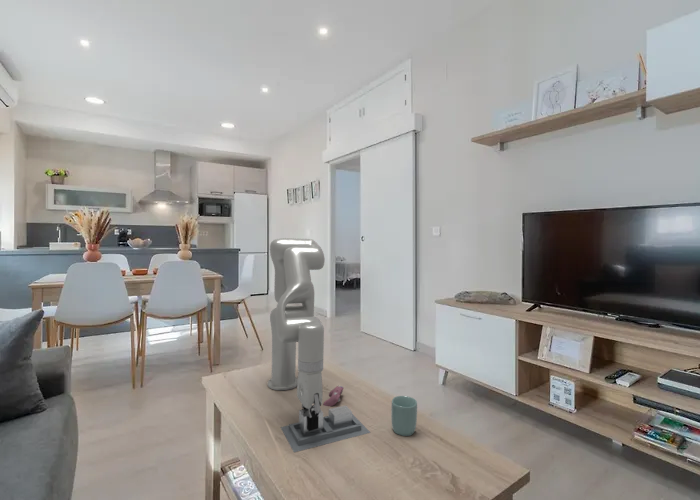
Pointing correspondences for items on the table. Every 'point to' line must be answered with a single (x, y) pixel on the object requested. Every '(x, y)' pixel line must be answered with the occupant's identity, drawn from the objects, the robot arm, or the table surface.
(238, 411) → the table surface
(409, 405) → the cup
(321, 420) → the billet
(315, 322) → the robot arm
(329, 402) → the video game controller
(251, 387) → the table surface
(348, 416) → the block
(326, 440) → the grey fixture tray
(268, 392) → the table surface
